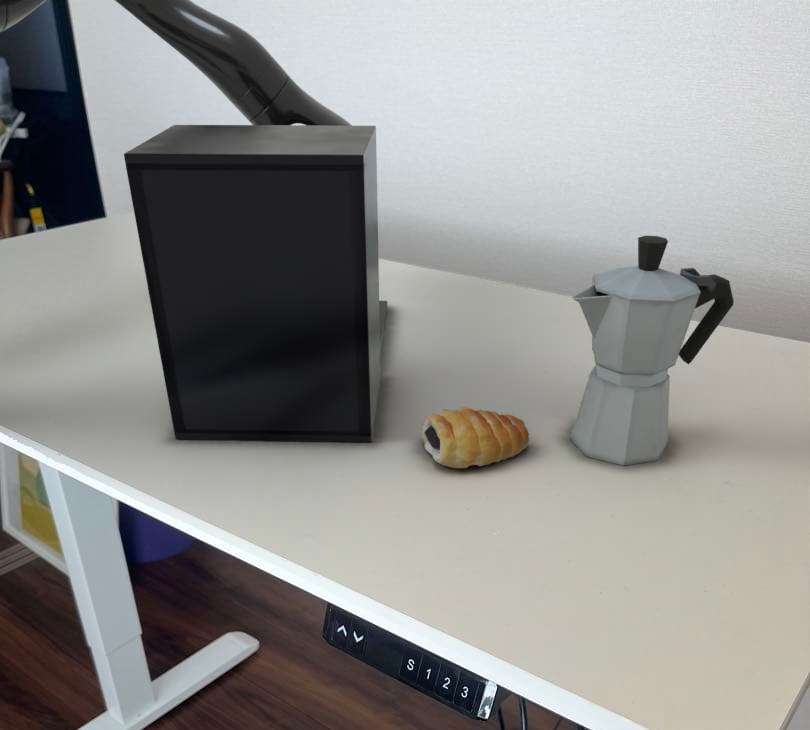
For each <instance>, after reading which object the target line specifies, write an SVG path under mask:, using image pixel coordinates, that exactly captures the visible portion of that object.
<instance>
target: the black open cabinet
mask: <svg viewBox="0 0 810 730" xmlns="http://www.w3.org/2000/svg"><path fill="white" fill-rule="evenodd" d="M377 156H378V155H377V126H376V125H352V126H324V125H304V124H293V125H252V124H173V125H171V126H170V127H168V128H165V130H162V131H161V132H159V133H157V134H155V135H154V136H152V137H151V138H149V139H147V140H145V141H143V142H142V143H140V144H139V145H136V146H135V147H133V148H132V149H130V150H128V151H126V152H125V153H123V157H124V163H125V170H126V175H127V181H128V187H129V191H130V196H131V203H132V209H133V213H134V214H133V215H134V218H135V224H136V229H137V236H138V241H139V247H140V252H141V258H142V263H143V268H144V274H145V279H146V284H147V290H148V295H149V301H150V307H151V312H152V317H153V318H152V319H153V323H154V329H155V334H156V340H157V346H158V351H159V356H160V357H159V358H160V362H161V368H162V372H163V378H164V385H165V389H166V394H167V395H166V396H167V401H168V405H169V411H170V417H171V422H172V428H173V432H174V438H175V440H201V441H203V440H204V441H206V440H208V441H258V442H259V441H260V442H261V441H265V442H268V441H269V442H323V443H324V442H325V443H372V440H373V434H374V429H375V428H374V427H375V421H376V413H377V407H378V401H379V396H380V395H379V394H380V387H381V380H382V371H381V368H382V367H381V364H382V363H381V352H382V351H381V350H382V346H383V338H384V332H385V326H386V325H385V324H386V322H387V321H386V320H387V314H388V300H380V266H379V261H380V260H379V217H378V216H379V215H378V214H379V212H378V209H379V208H378V165H377V164H378V162H377V159H378V157H377Z"/></svg>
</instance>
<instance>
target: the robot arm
mask: <svg viewBox="0 0 810 730" xmlns="http://www.w3.org/2000/svg"><path fill="white" fill-rule="evenodd" d="M114 1H115V2H116V3H117V4H118V5H120V6H121V7H122V8H124V10H126V11H127V12H128V13H130V14H131V15H132V16H133V17H135V18H136V19H137V20H138V21H140V22H141V24H143V25H144V26H145V27H147V28H148V29H149V30H150V31H152V32H153V33H154V34H155V35H157V36H158V37H159V38H161V40H163V41H164V42H166V43H167V44H168V45H169V46H170V47H172V48H173V49H174V50H175V51H177V52H178V53H179V54H180V55H182V56H183V58H185V59H186V60H187V61H189V62H190V63H191V65H193V66H194V67H196V68H197V69H198V71H200V72H201V73H202V74H203V75H204V76H205V77H206V78H208V80H209V81H210V82H211V83H212V84H214V86H215V87H216V88H217V89H218V90H219V91H220V92H221V93H222V94H223V95H224V96H225V97H226V99H228V100H229V102H230V103H231V104H233V106H234V107H235V108H236V109H237V110H238V111H239V112H240V113H241V114H242V116H243V117H244V118H245V119H246V120H248V122H249V123H250V125H324V126H353V125H352V124H351V123H350V122H349V121H348V120H346V119H345V118H344V117H342V116H341V115H339V114H338V113H336V112H335V111H333V110H331V109H330V108H328V107H327V106H325V105H323V104H322V103H321V102H319V101H318V100H316V99H315V98H314V97H313V96H311V95H310V94H309V93H308V92H307V91H305V90H304V89H303V88H302V87H301V86H299V85H298V84H297V83H296V82H295V80H293V79H292V77H291V76H290V74H289V75H288V73H287V72H286V71H285V69H284V68H283V67H282V66H281V65H280V64H279V62H277V60H276V59H275V58H274V56H273V55H272V54H271V53H270V52H269V51H268V50H267V49H266V47H265V46H264V45H262V44H261V42H260V41H258V39H256V38H255V37H254V36H253V35H252V34H250V33H249V32H247V31H246V30H245V29H244V28H241V27H240V26H238V25H236V24H234V23H233V22H230V21H229V20H227V19H225V18H223V17H221V16H219V15H217V14H215V13H213V12H211V11H209V10H207V9H206V8H204V7H201V6H200V5H198V4H196V3H194V2H193V1H191V0H114ZM46 2H47V0H0V33H3V32H4V31H6V30H8V29H10V28H12V27H13V26H15V25H16V24H18V23H19V22H20V21H22V20H24V18H26V17H27V16H29V15H30V14H31V13H32V12H34V11H35V10H36V9H38V8H39V7H40V6H41V5H43V4H44V3H46Z"/></svg>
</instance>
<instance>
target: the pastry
mask: <svg viewBox="0 0 810 730" xmlns="http://www.w3.org/2000/svg"><path fill="white" fill-rule="evenodd" d="M420 436H421V438H422V440H423V443H424V445H423V447H424V449H425V451H426V452H428V454H429V455H431V456H432V458H433V460H434V461H435V462H436V463H437V464H439V465H442V466H444V467H448V468H450V469H467V468H468V467H471V466H478V467H483V466H488V465H490V464H492V463H499V462H501V461H503V460H504V461H506V460H507V459H511V458H513V457H515V456H516V455H519V454H520V453H521V452H522V451H524V450H525V449H526V448H527V447H528V445H529V442H530V433H529V430H528V428H527V427H526V424H525V422H524V420H523V419H521V418H518V417H516V416H514V415H512V414H509V413H505V414H500V413H498V412H497V411H490V410H483V409H476V410H475V409H473V408H470V407H469V408H468V407H461V408H459V409H458V410H454V409H442V410H441V411H440V413H438V414H429V415H428V416H427V419H426V420H425V422H424V423H423V424H422V428H421V433H420Z"/></svg>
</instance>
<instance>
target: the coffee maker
mask: <svg viewBox="0 0 810 730" xmlns="http://www.w3.org/2000/svg"><path fill="white" fill-rule="evenodd" d="M668 243H669V240H668V239H667V237H664V236H663V237H662V236H658V235H642V236H639V237H637V257H638V258H637V265H636V266H635V265H634V266H624V267H617V268H614V269H609V270H608V271H604V272H600V273H597V274H593V275H592V278H591V279H592V281H591V282H592V283H591V284H592V285H591V286H589V287H588V288H586V289H583V290H582V291H581V292H579V293H577V294H576V295H574V296H573V297H571V299H572V300H573V301H576V302H578V304H579V307H580V308H581V312H582V314H583V316H584V319H585V321H586V324H587V325H588V328H589V331H590V334H591V351H592V353H593V355H594V356H593V358H594V363H595V365H594V366H593V368H592V369H591V370H590V372H589V375H588V379H587V382H586V385H585V388H584V392H583V395H582V399H581V402H580V405H579V408H578V411H577V414H576V417H575V421H574V424H573V428H572V431H571V435H570V437H569V441H571V443H573V445H574V446H576V448H577V449H578V450H579V451H581V453H582V454H583V455H585V457H587V458H592V459H595V460H599V461H603V462H608V463H612V464H616V465H620V466H629V465H635V464H643V463H649V462H655V461H660V460H659V459H660V458H661V456H662V454H663V453H664V451H665V449H666V448H667V447H668V444H669V443H668V441H669V413H670V412H669V410H670V375H669V374H668V371H669V369H670V368H673V367H674V366H676V363H677V361H678V359H679V358H680V359H681V360H682V361H683V362H684V363H685V364H687V366H688V365H690V364H691V363H692V362H693V360H694V359H695V358H696V356H697V355H698V354H699V352H700V351H701V350H702V348H703V347H704V345H705V344H706V343H707V342H708V340H709V339H710V337H711V336H712V334H713V333H714V332H715V331H716V329H717V328H718V326H720V323H722V321H723V320H724V319H725V317H726V315H727V314H728V313H729V312H730V310H731V308H733V306H734V297H733V296H734V295H733V293H732V292H733V291H732V287H731V283H730V280H729V279H727V278H725V277H722V276H720V275H718V274H715V273H714V274H703V275H701V274H700V273H699V272H698V271H697V270H696V268H694V267H686V268H685V267H684V268H683V267H682V268H680V271H679V273H676V272H672V271H669V270H666V269H663V268H660V266H661V262H662V259H663V257H664V254H665V252H666V250H667V246H668ZM713 300H714V301H713ZM711 301H713V303H712V305H711V306H710V307H709V309H708V310H707V312H706V313H705V314H704V316H703V317H702V319H701V320H700V321H699V323H698V324H697V325H696V327H695V329H694V330H693V331H692V333H691V334H690V335H689V337H688V338H687V340H686V341H685V343H684V340H685V338H686V335H687V332H688V329H689V326H690V323H691V321H692V318H693V314H694V312H695V309H697V308H699V307H701V306H703V305H705V304H708V303H709V302H711Z"/></svg>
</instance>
